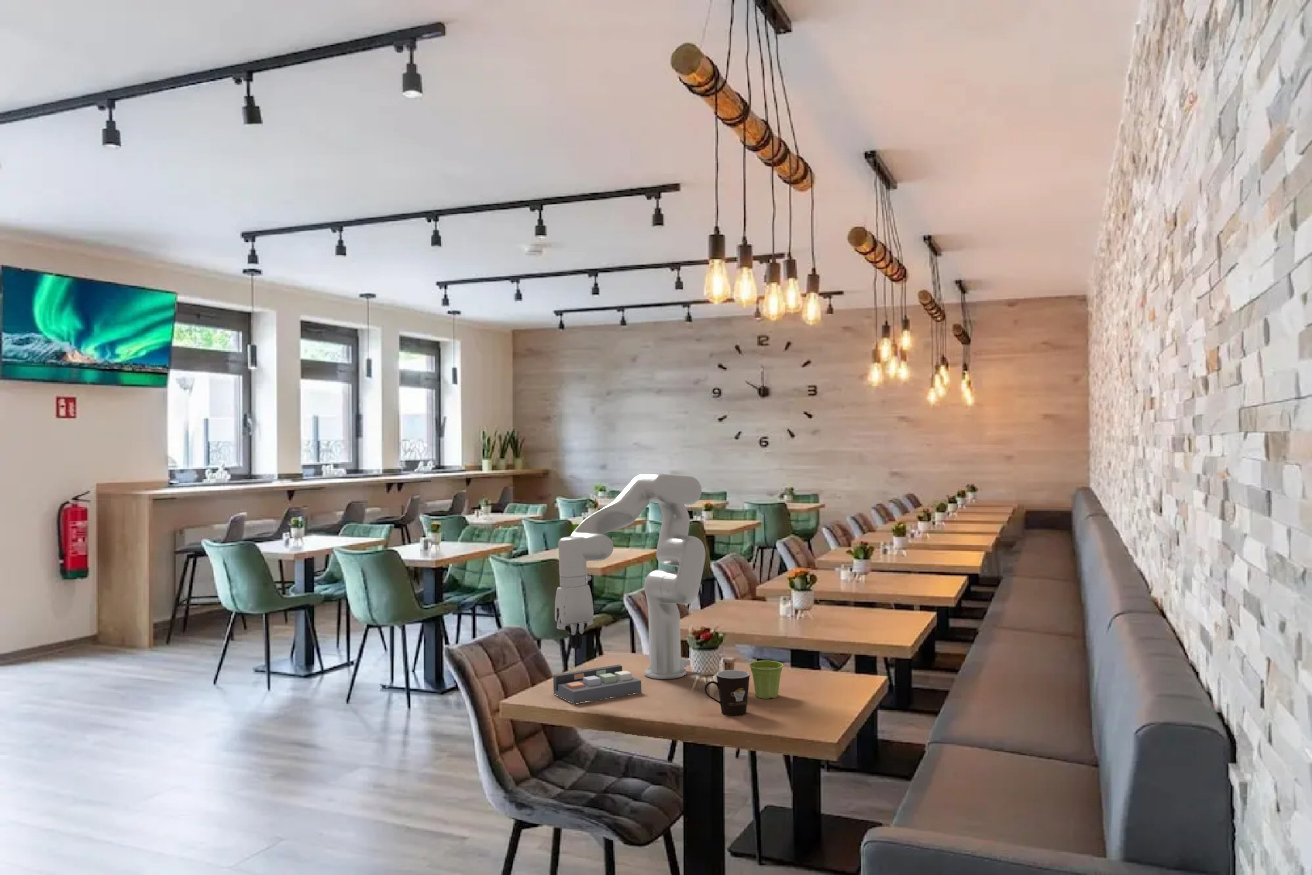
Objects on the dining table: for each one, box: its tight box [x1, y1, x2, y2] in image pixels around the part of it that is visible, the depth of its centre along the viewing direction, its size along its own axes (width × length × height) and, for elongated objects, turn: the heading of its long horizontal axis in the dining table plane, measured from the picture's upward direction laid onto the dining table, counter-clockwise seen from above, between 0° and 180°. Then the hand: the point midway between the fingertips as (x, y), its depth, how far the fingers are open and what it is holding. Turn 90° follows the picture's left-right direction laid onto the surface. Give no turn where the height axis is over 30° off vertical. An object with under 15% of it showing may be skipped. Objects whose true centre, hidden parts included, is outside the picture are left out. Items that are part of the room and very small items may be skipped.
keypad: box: [552, 664, 642, 705], centre depth 266 cm, size 21×13×6 cm, turn 121°
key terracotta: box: [567, 682, 584, 689], centre depth 261 cm, size 4×4×2 cm
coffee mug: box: [704, 669, 751, 717], centre depth 244 cm, size 12×9×10 cm
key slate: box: [583, 676, 600, 686], centre depth 263 cm, size 4×4×2 cm
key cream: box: [614, 670, 633, 681], centre depth 268 cm, size 4×4×2 cm
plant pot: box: [748, 660, 784, 700], centre depth 259 cm, size 9×9×9 cm
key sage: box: [599, 673, 616, 684], centre depth 266 cm, size 4×4×2 cm
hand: (576, 647), depth 261 cm, fingers closed
